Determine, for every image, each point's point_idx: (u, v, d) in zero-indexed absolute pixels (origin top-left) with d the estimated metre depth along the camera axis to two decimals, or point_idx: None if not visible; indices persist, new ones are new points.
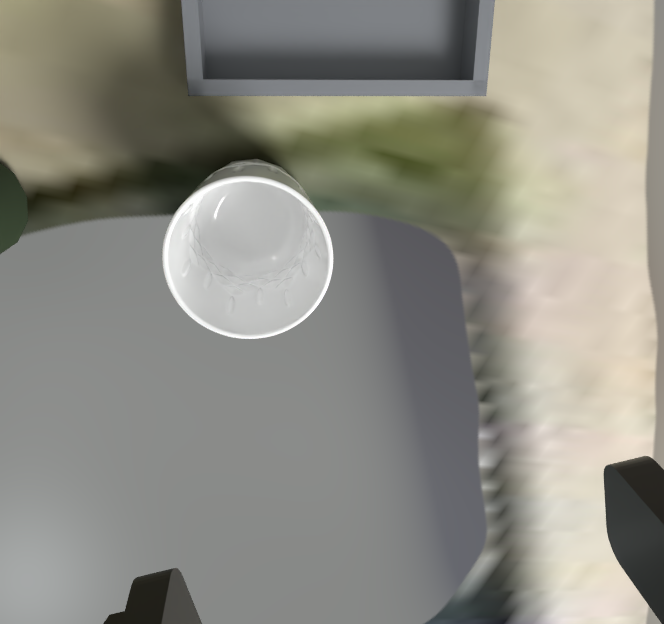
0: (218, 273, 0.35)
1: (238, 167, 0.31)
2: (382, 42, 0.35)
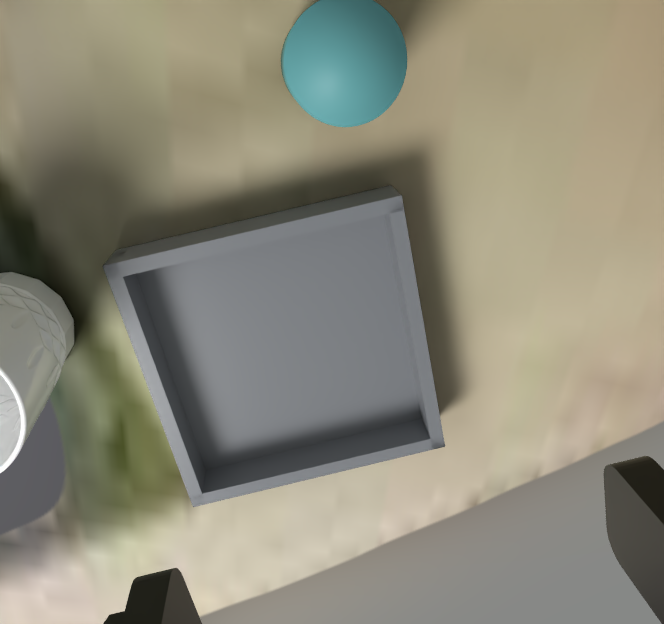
0: None
1: (40, 347, 0.31)
2: (214, 403, 0.39)
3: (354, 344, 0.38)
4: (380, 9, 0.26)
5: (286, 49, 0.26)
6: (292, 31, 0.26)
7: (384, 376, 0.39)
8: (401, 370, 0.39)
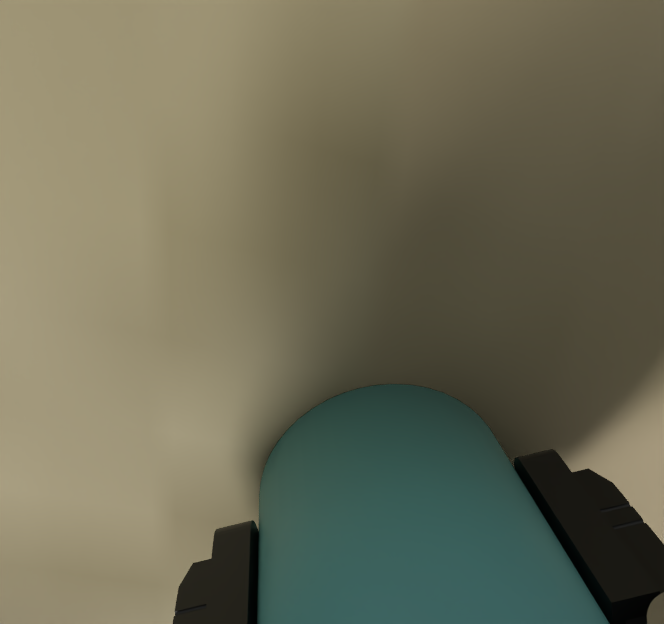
0: None
1: None
2: None
3: None
4: None
5: None
6: None
7: None
8: None
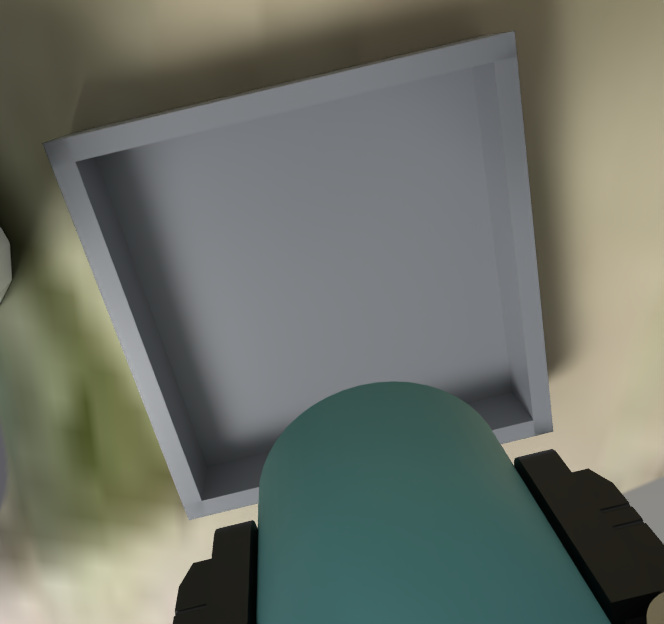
0: None
1: None
2: (219, 370, 0.27)
3: (423, 282, 0.26)
4: None
5: None
6: None
7: (463, 331, 0.27)
8: (488, 322, 0.27)
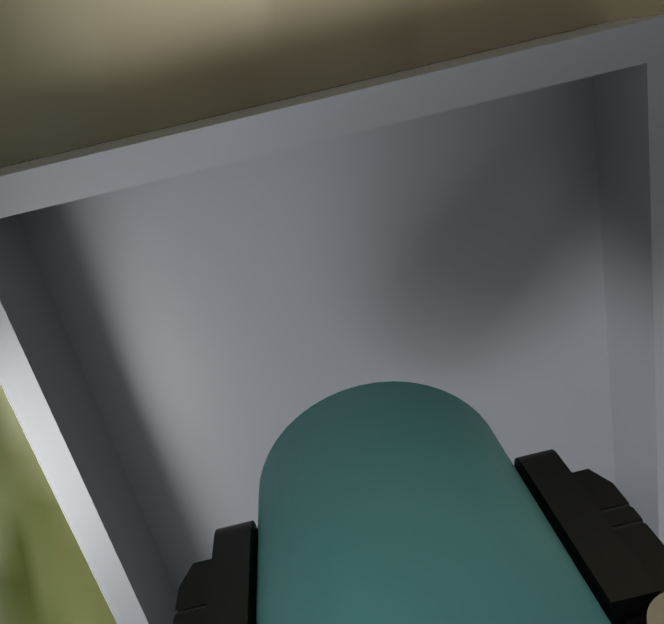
0: None
1: None
2: (207, 503, 0.19)
3: (501, 382, 0.18)
4: None
5: None
6: None
7: (555, 446, 0.19)
8: (590, 433, 0.19)
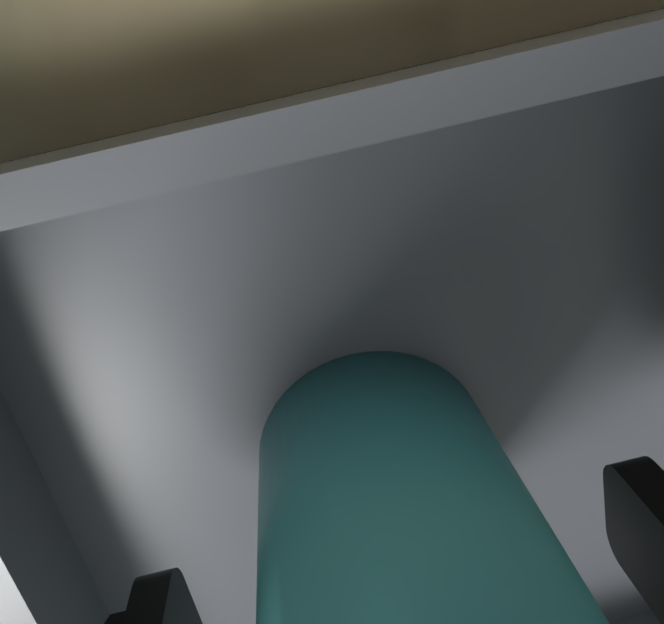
0: None
1: None
2: None
3: (543, 446, 0.15)
4: None
5: None
6: None
7: (604, 519, 0.16)
8: None
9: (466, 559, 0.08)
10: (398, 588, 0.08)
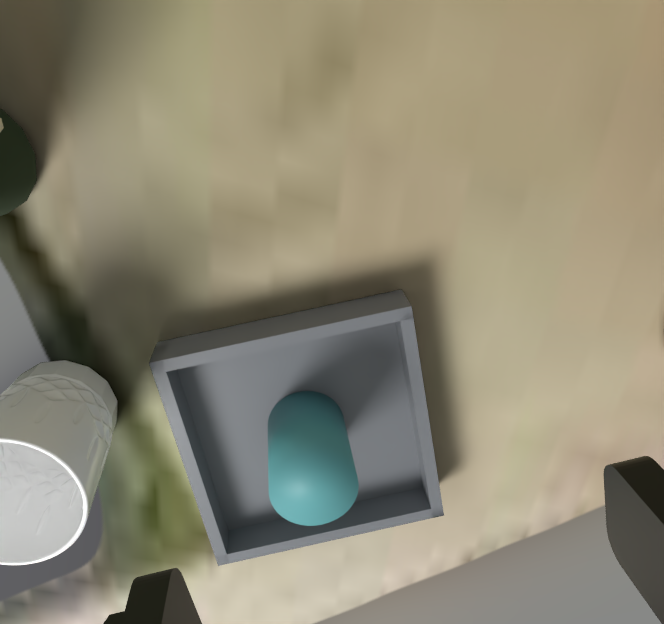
0: None
1: (96, 437, 0.35)
2: (239, 473, 0.43)
3: (365, 423, 0.43)
4: (338, 458, 0.35)
5: (270, 484, 0.35)
6: (274, 474, 0.35)
7: (391, 451, 0.44)
8: (406, 446, 0.44)
9: (315, 441, 0.36)
10: (300, 446, 0.36)
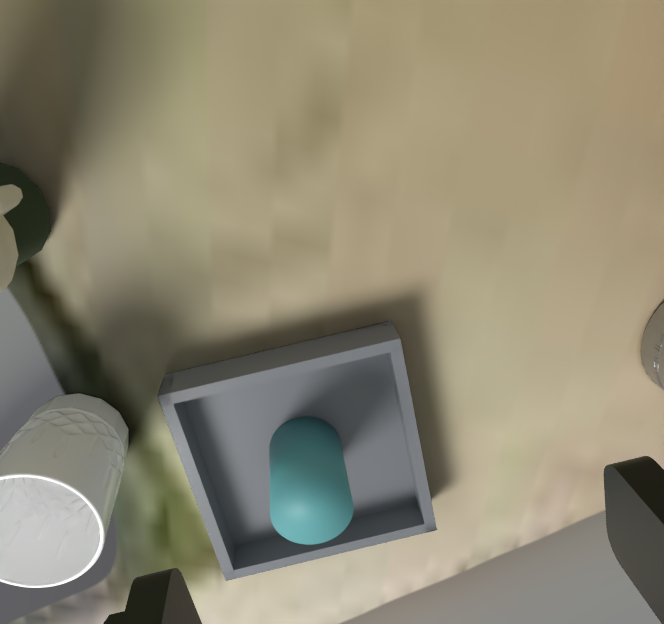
0: None
1: (110, 467, 0.38)
2: (243, 493, 0.46)
3: (361, 445, 0.46)
4: (334, 482, 0.38)
5: (271, 507, 0.38)
6: (275, 498, 0.38)
7: (386, 470, 0.47)
8: (400, 465, 0.47)
9: (312, 467, 0.39)
10: (298, 472, 0.38)
